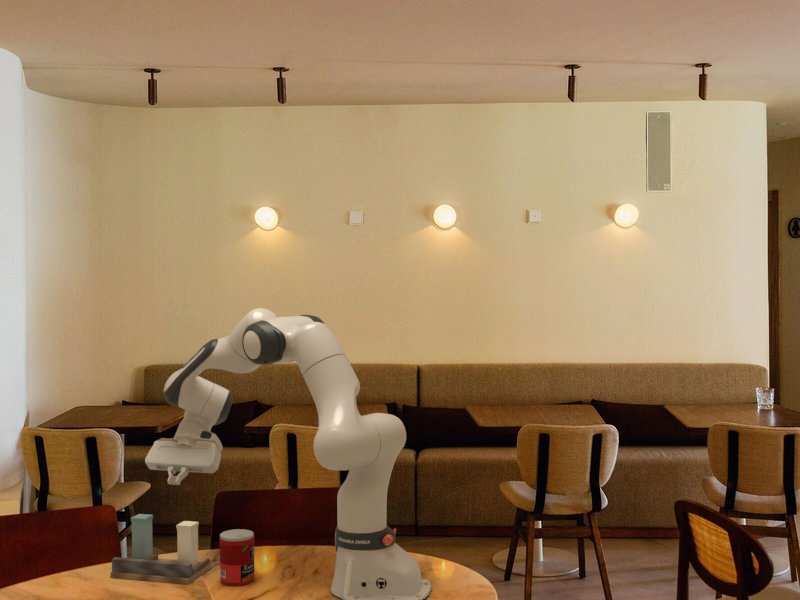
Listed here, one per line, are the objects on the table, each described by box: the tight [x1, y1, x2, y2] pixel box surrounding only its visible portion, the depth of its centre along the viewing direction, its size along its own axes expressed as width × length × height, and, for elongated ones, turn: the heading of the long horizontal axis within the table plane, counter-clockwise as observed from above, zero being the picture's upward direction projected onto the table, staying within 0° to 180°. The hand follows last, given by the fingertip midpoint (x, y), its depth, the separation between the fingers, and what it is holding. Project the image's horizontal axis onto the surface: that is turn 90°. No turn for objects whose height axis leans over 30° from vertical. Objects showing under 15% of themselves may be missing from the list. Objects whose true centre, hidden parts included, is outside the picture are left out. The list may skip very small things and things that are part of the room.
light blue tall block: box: [130, 513, 154, 560], centre depth 208 cm, size 4×4×11 cm
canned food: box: [219, 528, 255, 587], centre depth 197 cm, size 8×8×11 cm
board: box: [110, 553, 213, 585], centre depth 203 cm, size 20×12×4 cm, turn 76°
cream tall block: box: [175, 520, 200, 568], centre depth 201 cm, size 4×4×11 cm
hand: (173, 483), depth 223 cm, fingers closed
